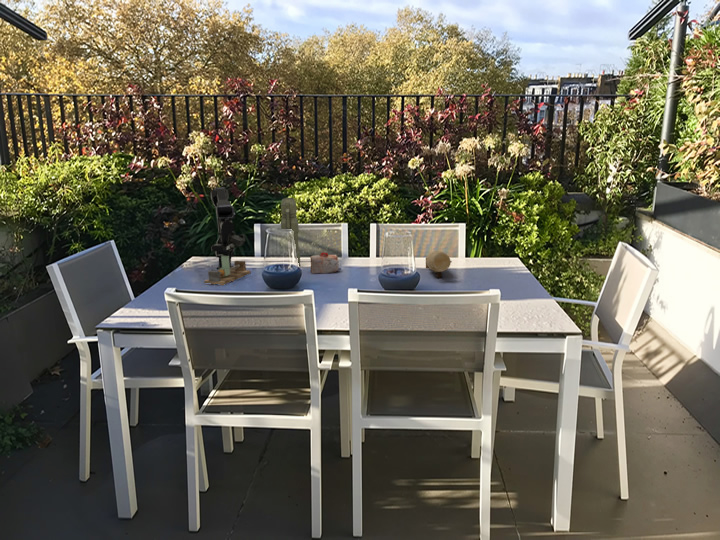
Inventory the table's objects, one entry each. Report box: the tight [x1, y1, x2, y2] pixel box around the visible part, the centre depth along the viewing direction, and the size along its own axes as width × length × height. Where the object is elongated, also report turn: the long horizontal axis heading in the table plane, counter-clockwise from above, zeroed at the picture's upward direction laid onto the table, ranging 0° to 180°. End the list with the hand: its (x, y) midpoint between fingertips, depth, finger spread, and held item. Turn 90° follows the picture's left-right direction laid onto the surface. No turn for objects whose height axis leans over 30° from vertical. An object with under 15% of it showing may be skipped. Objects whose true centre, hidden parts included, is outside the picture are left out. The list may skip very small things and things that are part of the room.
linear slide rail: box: [204, 260, 251, 286], centre depth 287 cm, size 24×10×6 cm, turn 159°
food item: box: [310, 251, 340, 275], centre depth 295 cm, size 14×8×10 cm, turn 99°
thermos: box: [280, 197, 301, 267], centre depth 306 cm, size 9×12×35 cm
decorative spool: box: [425, 250, 453, 278], centre depth 284 cm, size 10×12×30 cm
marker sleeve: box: [218, 256, 230, 276], centre depth 284 cm, size 4×3×9 cm
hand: (229, 262), depth 288 cm, fingers closed
